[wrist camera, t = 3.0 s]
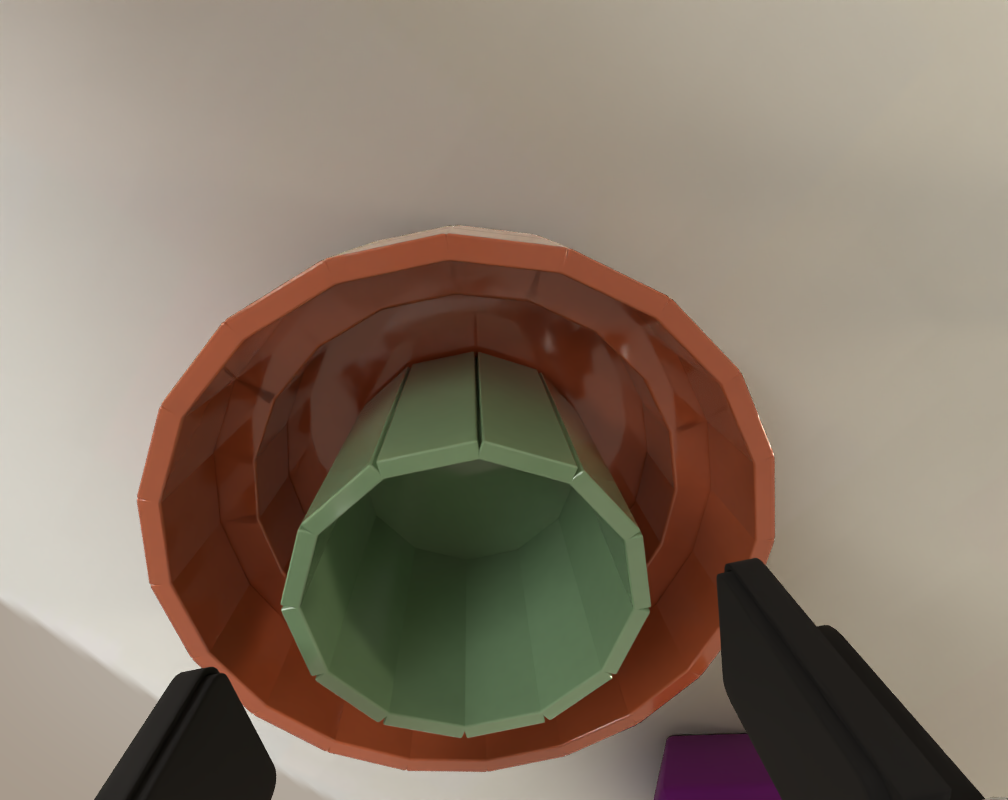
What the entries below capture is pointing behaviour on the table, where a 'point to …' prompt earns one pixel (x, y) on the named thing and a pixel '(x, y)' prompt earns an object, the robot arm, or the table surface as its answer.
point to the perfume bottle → (713, 770)
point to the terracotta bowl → (372, 366)
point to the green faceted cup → (466, 555)
